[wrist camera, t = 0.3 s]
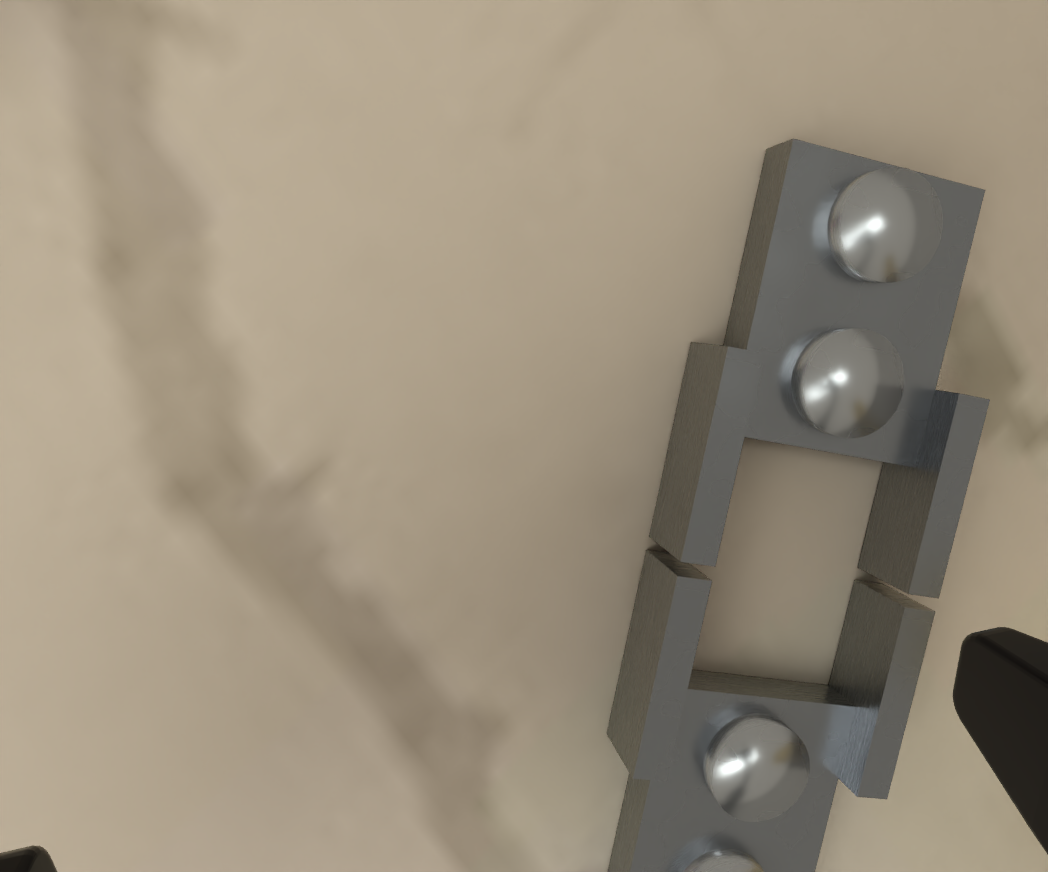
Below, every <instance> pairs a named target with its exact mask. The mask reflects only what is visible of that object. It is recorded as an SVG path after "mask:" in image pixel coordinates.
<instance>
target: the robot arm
mask: <svg viewBox="0 0 1048 872" xmlns="http://www.w3.org/2000/svg"><path fill="white" fill-rule="evenodd" d="M953 702H954V706H955V709H956V712H957V714H958V716H959V718H960V720H961V722H962V723H963V725H964V726H965V728H966V729H967V731H968V732H969V734H970V736H971V737H972V739H973V740H974V742H975V743H976V745H977V746H978V748H979V750H980V751H981V753H982V754H983V756H984V757H985V759H986V761H987V762H988V764H989V765H990V767H991V768H992V770H993V771H994V773H995V775H996V776H997V778H998V779H999V781H1000V782H1001V784H1002V785H1003V787H1004V789H1005V790H1006V792H1007V793H1008V795H1009V796H1010V798H1011V800H1012V801H1013V803H1014V804H1015V806H1016V807H1017V809H1018V810H1019V812H1020V814H1021V815H1022V817H1023V818H1024V820H1025V821H1026V823H1027V824H1028V826H1029V828H1030V829H1031V831H1032V832H1033V834H1034V835H1035V836H1036V838H1037V839H1038V841H1039V842H1040V844H1041V845H1042V847H1043V848H1044V850H1045V851H1046V853H1047V854H1048V643H1047V642H1044V641H1042V640H1039V639H1037V638H1034V637H1032V636H1029V635H1026V634H1024V633H1021V632H1019V631H1016V630H1014V629H1011V628H1006V627H997V628H993V629H988V630H984V631H980V632H975V633H971V634H970V635H968V636H967V637H966V638H965V639H964V641H963V643H962V646H961V651H960V656H959V662H958V667H957V673H956V678H955V683H954V689H953ZM0 872H57V870H56V868H55V866H54V864H53V861H52V859H51V857H50V855H49V854H48V852H47V851H46V850H45V849H44V848H43V847H41V846H29V847H25V848H21V849H16V850H12V851H7V852H3V853H0Z"/></svg>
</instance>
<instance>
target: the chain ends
mask: <svg viewBox="0 0 1048 872" xmlns="http://www.w3.org/2000/svg"><path fill="white" fill-rule="evenodd" d="M984 193H985V190H983V189H979V188H976V187H972V186H968V185H965V184H961V183H957V182H953V181H950V180H946V179H942V178H938V177H935V176H931V175H927V174H923V173H920V172H916V171H912V170H910V169H907V168H901V167H897V166H893V165H890V164H886V163H882V162H879V161H875V160H871V159H867V158H864V157H860V156H856V155H852V154H849V153H845V152H841V151H837V150H834V149H830V148H826V147H822V146H819V145H815V144H811V143H808V142H804V141H800V140H796V139H791V140H789V141H786V142H784V143H781V144H778V145H776V146H773V147H771V148H768V149H767V150H766V154H765V159H764V164H763V168H762V173H761V177H760V182H759V186H758V191H757V195H756V200H755V205H754V209H753V214H752V218H751V223H750V227H749V232H748V236H747V241H746V245H745V250H744V255H743V259H742V264H741V268H740V273H739V277H738V282H737V286H736V291H735V296H734V300H733V305H732V309H731V314H730V318H729V323H728V327H727V332H726V336H725V341H724V346H721V345H712V344H702V343H693V342H691V345H690V349H689V354H688V359H687V363H686V368H685V372H684V377H683V382H682V386H681V391H680V396H679V400H678V405H677V410H676V414H675V419H674V424H673V428H672V433H671V438H670V442H669V447H668V451H667V456H666V461H665V465H664V470H663V475H662V479H661V484H660V489H659V493H658V498H657V503H656V507H655V512H654V516H653V521H652V526H651V530H650V535H649V537H650V538H651V539H653V540H654V541H655V542H656V543H658V544H659V545H660V546H661V547H663V548H664V549H665V550H666V551H668V552H669V553H665V552H658V551H651V550H646V554H645V558H644V563H643V568H642V572H641V577H640V582H639V586H638V591H637V595H636V600H635V605H634V609H633V614H632V619H631V623H630V628H629V633H628V637H627V642H626V647H625V651H624V656H623V660H622V665H621V670H620V674H619V679H618V684H617V688H616V693H615V698H614V702H613V707H612V712H611V716H610V721H609V726H608V730H607V735H608V737H609V739H610V740H611V742H612V744H613V745H614V747H615V749H616V751H617V752H618V754H619V756H620V757H621V759H622V761H623V763H624V764H625V766H626V768H627V769H628V771H629V778H628V782H627V787H626V792H625V796H624V801H623V805H622V810H621V814H620V819H619V823H618V828H617V832H616V837H615V842H614V846H613V851H612V855H611V860H610V864H609V869H608V872H815V869H816V865H817V861H818V857H819V853H820V849H821V845H822V841H823V837H824V833H825V829H826V825H827V821H828V817H829V813H830V809H831V805H832V801H833V797H834V793H835V789H836V785H837V781H838V778H839V779H840V780H841V781H842V782H843V783H844V784H845V785H846V786H847V787H848V788H849V789H850V790H851V791H852V792H853V793H854V794H855V795H856V796H857V797H867V798H879V799H887V797H888V793H889V789H890V785H891V781H892V778H893V774H894V770H895V766H896V762H897V758H898V754H899V750H900V746H901V743H902V739H903V735H904V731H905V727H906V723H907V719H908V715H909V712H910V708H911V704H912V700H913V696H914V692H915V688H916V684H917V681H918V677H919V673H920V669H921V665H922V661H923V657H924V653H925V649H926V646H927V642H928V638H929V634H930V630H931V626H932V622H933V618H934V615H935V611H933V610H931V609H929V608H927V607H925V606H924V605H922V604H920V603H918V602H916V601H914V600H912V599H910V598H908V597H907V596H905V595H903V594H901V593H899V592H897V591H895V590H893V589H891V588H890V587H888V586H886V585H884V584H880V583H874V582H867V581H860V580H854V585H853V589H852V593H851V597H850V601H849V605H848V609H847V613H846V617H845V621H844V625H843V629H842V633H841V638H840V642H839V646H838V650H837V654H836V658H835V662H834V666H833V670H832V674H831V678H830V682H829V685H823V684H814V683H805V682H796V681H787V680H779V679H770V678H761V677H752V676H743V675H734V674H725V673H716V672H707V671H698V670H692V667H693V663H694V658H695V654H696V649H697V645H698V641H699V636H700V632H701V627H702V623H703V618H704V614H705V609H706V605H707V601H708V596H709V592H710V587H711V583H712V581H711V580H710V579H709V578H707V577H706V576H705V575H704V574H702V573H701V572H700V571H698V570H697V569H696V568H695V567H693V566H692V565H691V564H689V563H693V564H700V565H707V566H714V567H715V565H716V561H717V556H718V552H719V547H720V543H721V538H722V534H723V530H724V525H725V521H726V516H727V512H728V507H729V503H730V499H731V494H732V490H733V485H734V481H735V476H736V472H737V467H738V463H739V459H740V454H741V450H742V445H743V441H744V437H748V438H753V439H759V440H764V441H770V442H775V443H781V444H787V445H792V446H798V447H803V448H809V449H814V450H820V451H826V452H831V453H837V454H842V455H848V456H853V457H859V458H865V459H870V460H876V461H881V462H883V466H882V470H881V474H880V479H879V483H878V487H877V491H876V495H875V499H874V503H873V507H872V511H871V515H870V519H869V523H868V527H867V532H866V536H865V540H864V544H863V548H862V552H861V556H860V560H859V564H858V568H859V569H861V570H863V571H865V572H867V573H869V574H871V575H873V576H875V577H877V578H879V579H881V580H882V581H884V582H886V583H888V584H890V585H892V586H894V587H896V588H898V589H900V590H902V591H904V592H905V593H907V594H911V595H918V596H926V597H933V598H939V595H940V591H941V587H942V584H943V580H944V576H945V572H946V568H947V564H948V560H949V556H950V553H951V549H952V545H953V541H954V537H955V533H956V529H957V525H958V521H959V518H960V514H961V510H962V506H963V502H964V498H965V494H966V490H967V487H968V483H969V479H970V475H971V471H972V467H973V463H974V459H975V456H976V452H977V448H978V444H979V440H980V436H981V432H982V428H983V424H984V421H985V417H986V413H987V409H988V405H989V401H990V400H989V399H984V398H979V397H974V396H969V395H964V394H959V393H953V392H946V391H939V390H935V389H936V385H937V381H938V377H939V373H940V369H941V365H942V361H943V357H944V353H945V349H946V345H947V341H948V337H949V333H950V329H951V325H952V321H953V317H954V313H955V309H956V305H957V301H958V297H959V293H960V289H961V285H962V281H963V277H964V273H965V269H966V265H967V261H968V257H969V253H970V249H971V245H972V241H973V237H974V233H975V229H976V225H977V221H978V217H979V213H980V209H981V205H982V201H983V197H984Z"/></svg>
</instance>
